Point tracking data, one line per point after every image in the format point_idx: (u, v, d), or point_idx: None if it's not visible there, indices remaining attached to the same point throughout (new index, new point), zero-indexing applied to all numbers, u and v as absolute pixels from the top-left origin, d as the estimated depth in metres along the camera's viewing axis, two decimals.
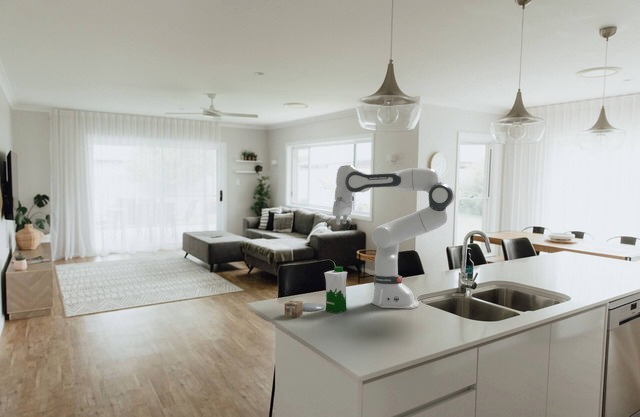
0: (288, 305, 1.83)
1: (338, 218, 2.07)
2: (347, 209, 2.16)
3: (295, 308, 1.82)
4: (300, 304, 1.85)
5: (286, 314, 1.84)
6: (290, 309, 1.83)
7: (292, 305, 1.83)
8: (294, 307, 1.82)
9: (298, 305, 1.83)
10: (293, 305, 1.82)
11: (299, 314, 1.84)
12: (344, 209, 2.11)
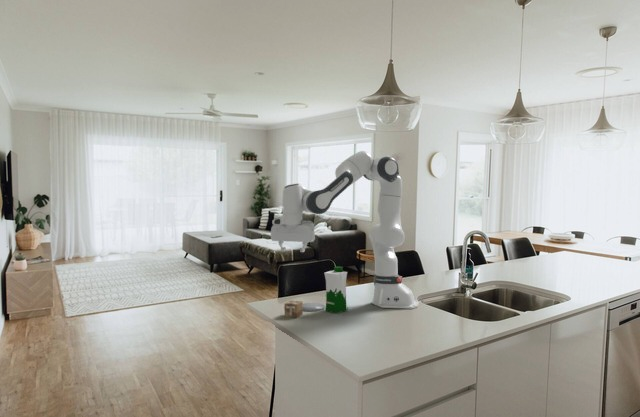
0: (288, 305, 1.83)
1: (306, 244, 1.83)
2: None
3: (295, 308, 1.82)
4: (300, 304, 1.85)
5: (286, 314, 1.84)
6: (290, 309, 1.83)
7: (292, 305, 1.83)
8: (294, 307, 1.82)
9: (298, 305, 1.83)
10: (293, 305, 1.82)
11: (299, 314, 1.84)
12: None
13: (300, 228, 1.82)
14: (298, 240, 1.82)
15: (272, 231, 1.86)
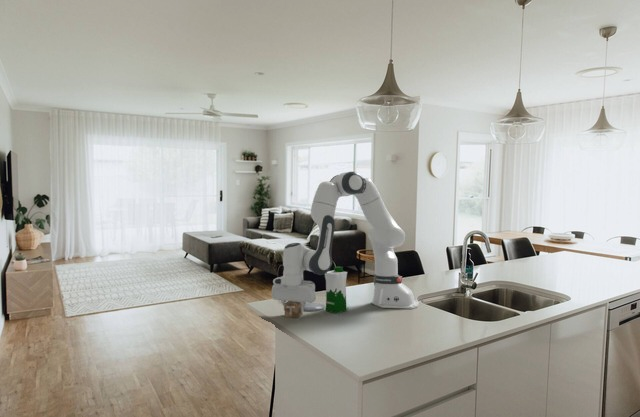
0: (288, 305, 1.83)
1: None
2: None
3: (295, 308, 1.82)
4: (300, 304, 1.85)
5: (286, 314, 1.84)
6: (290, 309, 1.83)
7: (292, 305, 1.83)
8: (294, 307, 1.82)
9: (298, 305, 1.83)
10: (293, 305, 1.82)
11: (299, 314, 1.84)
12: None
13: (301, 289, 1.82)
14: (299, 300, 1.83)
15: (273, 290, 1.87)
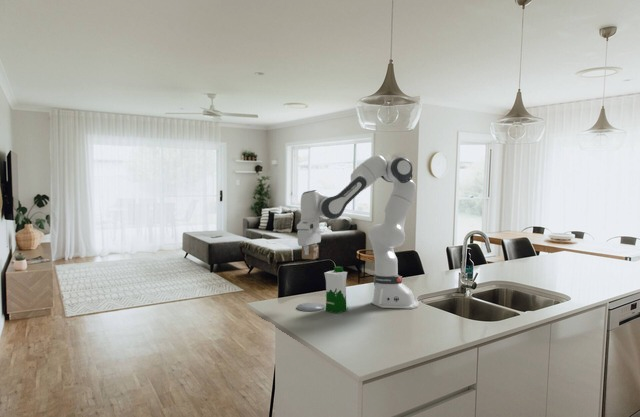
0: (315, 247, 1.96)
1: None
2: None
3: (317, 248, 2.00)
4: None
5: (314, 256, 1.96)
6: (316, 250, 1.97)
7: (316, 246, 1.98)
8: (317, 248, 1.99)
9: None
10: (317, 246, 1.99)
11: None
12: None
13: (317, 231, 2.02)
14: (316, 242, 2.01)
15: (306, 236, 1.89)
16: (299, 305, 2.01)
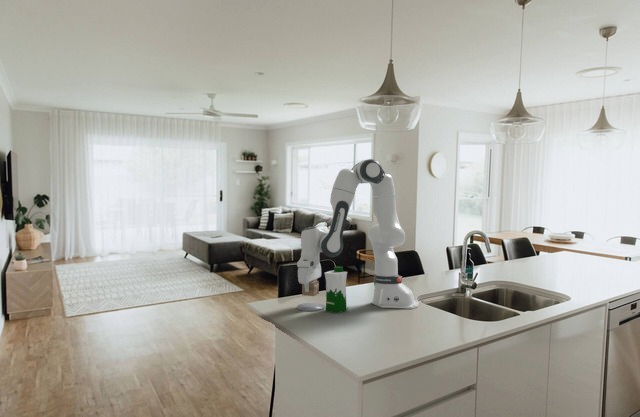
0: (315, 284, 1.97)
1: None
2: None
3: (318, 284, 2.00)
4: None
5: (314, 293, 1.96)
6: (316, 287, 1.98)
7: (317, 282, 1.99)
8: (317, 284, 1.99)
9: None
10: (317, 282, 1.99)
11: None
12: None
13: (317, 267, 2.03)
14: (316, 277, 2.02)
15: (307, 274, 1.90)
16: (299, 305, 2.01)
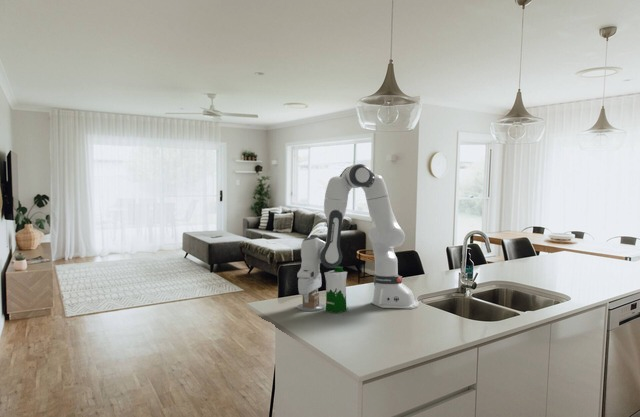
0: (315, 296, 1.97)
1: None
2: None
3: (318, 296, 2.00)
4: None
5: (315, 305, 1.96)
6: (316, 299, 1.98)
7: (317, 294, 1.99)
8: (318, 296, 2.00)
9: None
10: (317, 294, 1.99)
11: None
12: None
13: (317, 277, 2.03)
14: (316, 287, 2.02)
15: (307, 285, 1.90)
16: (299, 305, 2.01)
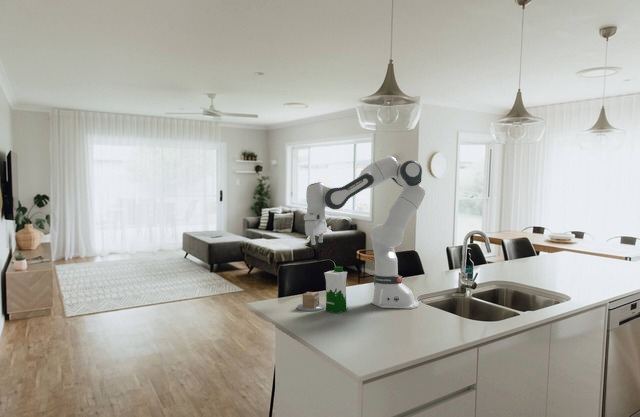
0: (315, 295, 1.97)
1: None
2: None
3: (318, 296, 2.00)
4: None
5: (315, 305, 1.96)
6: (316, 299, 1.98)
7: (317, 294, 1.99)
8: (318, 296, 2.00)
9: None
10: (317, 294, 1.99)
11: None
12: None
13: (323, 222, 2.10)
14: (322, 232, 2.09)
15: (314, 226, 1.97)
16: (299, 305, 2.01)
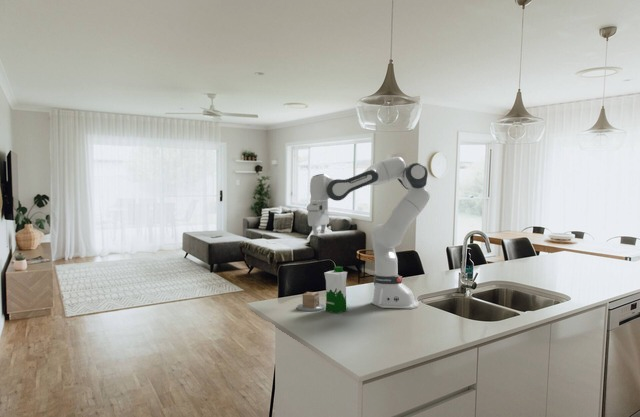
0: (315, 295, 1.97)
1: None
2: None
3: (318, 296, 2.00)
4: None
5: (315, 305, 1.96)
6: (316, 299, 1.98)
7: (317, 294, 1.99)
8: (318, 296, 2.00)
9: None
10: (317, 294, 1.99)
11: None
12: None
13: (325, 213, 2.13)
14: (325, 223, 2.12)
15: (316, 217, 2.00)
16: (299, 305, 2.01)
